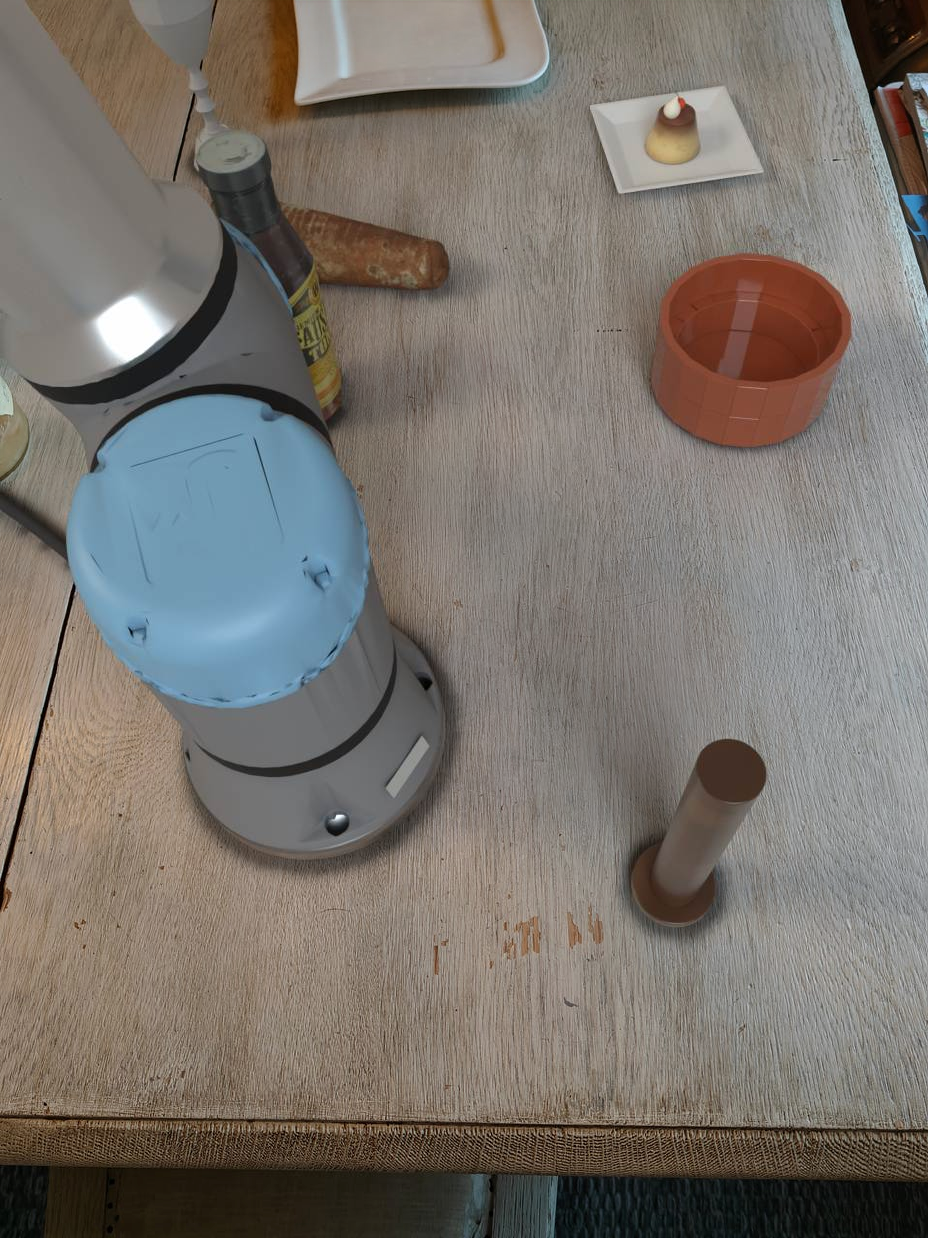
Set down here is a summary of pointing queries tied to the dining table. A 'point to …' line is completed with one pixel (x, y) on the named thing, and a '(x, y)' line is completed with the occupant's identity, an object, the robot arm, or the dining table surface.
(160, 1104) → the dining table surface
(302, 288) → the sauce bottle
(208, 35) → the chalice
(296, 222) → the bread
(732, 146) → the dessert
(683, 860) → the wooden peg on base
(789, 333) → the bowl
